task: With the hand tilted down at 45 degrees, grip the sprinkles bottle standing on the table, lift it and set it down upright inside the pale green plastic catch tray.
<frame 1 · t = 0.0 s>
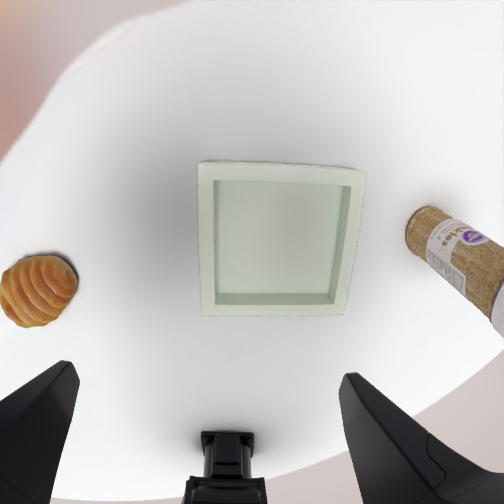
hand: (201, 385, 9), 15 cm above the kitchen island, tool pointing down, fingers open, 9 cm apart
pastry: (41, 282, 24), on the kitchen island
sprinkles bottle: (423, 230, 23), on the kitchen island
catch tray: (276, 237, 22), on the kitchen island
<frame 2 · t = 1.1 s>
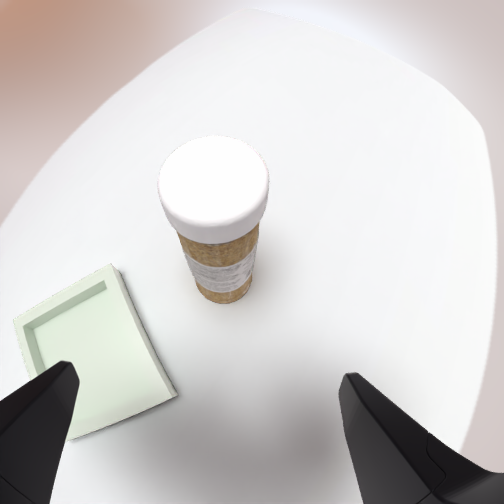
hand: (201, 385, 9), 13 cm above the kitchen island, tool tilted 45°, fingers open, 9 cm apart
sprinkles bottle: (223, 278, 24), on the kitchen island
catch tray: (90, 359, 20), on the kitchen island
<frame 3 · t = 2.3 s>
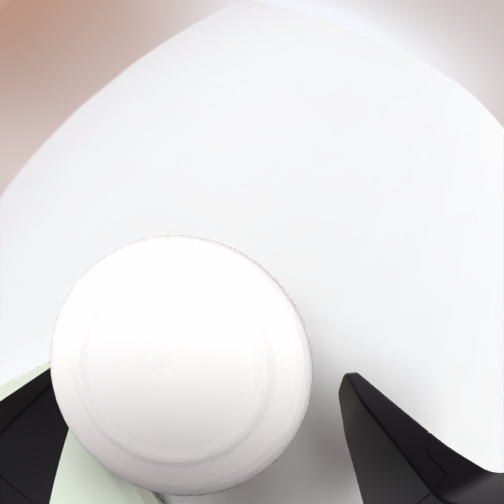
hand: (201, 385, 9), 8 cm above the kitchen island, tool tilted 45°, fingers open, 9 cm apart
sprinkles bottle: (217, 372, 17), on the kitchen island
catch tray: (59, 456, 13), on the kitchen island
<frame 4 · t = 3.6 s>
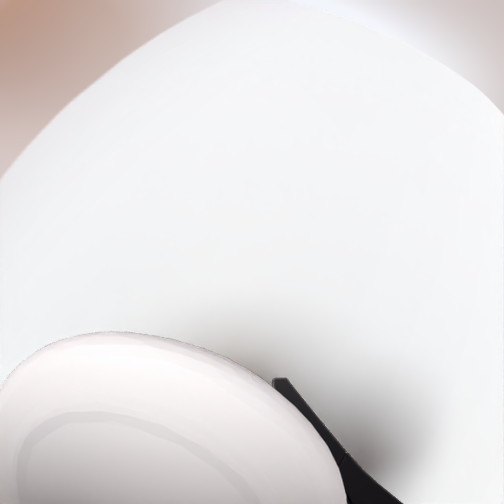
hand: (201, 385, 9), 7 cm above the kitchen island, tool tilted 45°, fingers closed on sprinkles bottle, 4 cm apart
sprinkles bottle: (215, 404, 14), on the kitchen island, touching gripper
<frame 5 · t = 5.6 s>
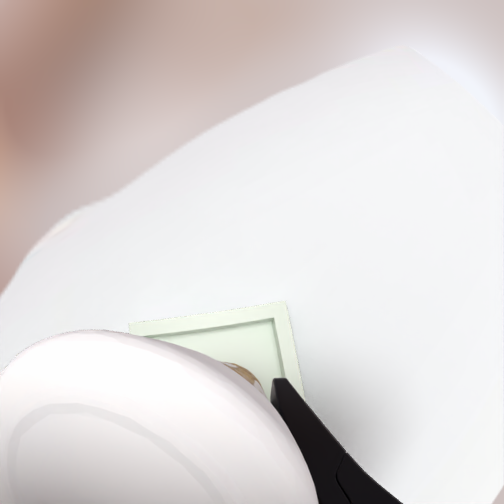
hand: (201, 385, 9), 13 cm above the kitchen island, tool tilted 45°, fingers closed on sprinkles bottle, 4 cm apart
sprinkles bottle: (223, 403, 14), point 6 cm above the kitchen island, touching gripper
catch tray: (220, 391, 20), on the kitchen island
when the fingers open (8 cm above the kitchen island, at t = 6.7 s): sprinkles bottle stays where it is, resting on catch tray.
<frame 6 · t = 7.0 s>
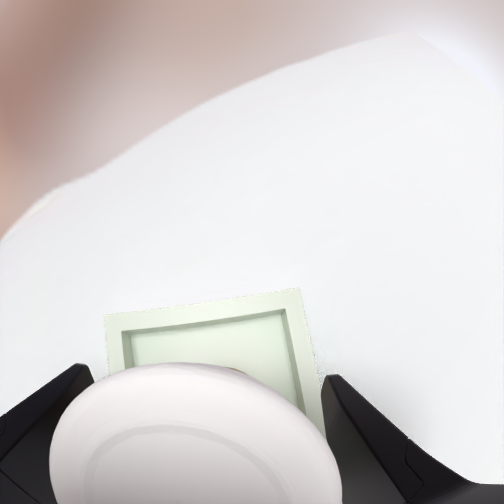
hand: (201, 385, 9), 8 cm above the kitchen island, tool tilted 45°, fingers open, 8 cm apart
sprinkles bottle: (223, 405, 15), resting on catch tray
catch tray: (217, 401, 16), on the kitchen island
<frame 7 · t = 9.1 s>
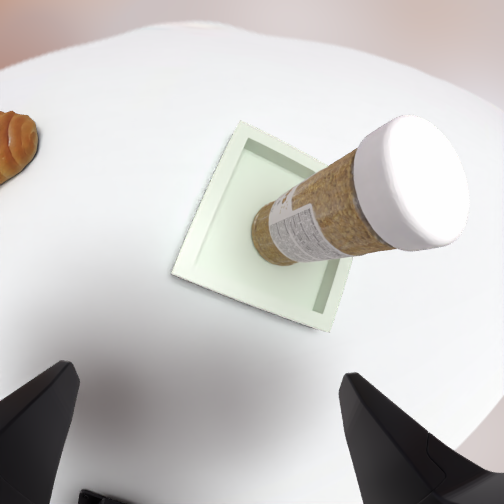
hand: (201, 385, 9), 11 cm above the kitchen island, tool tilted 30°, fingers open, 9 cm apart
sprinkles bottle: (279, 234, 21), resting on catch tray
catch tray: (274, 230, 21), on the kitchen island
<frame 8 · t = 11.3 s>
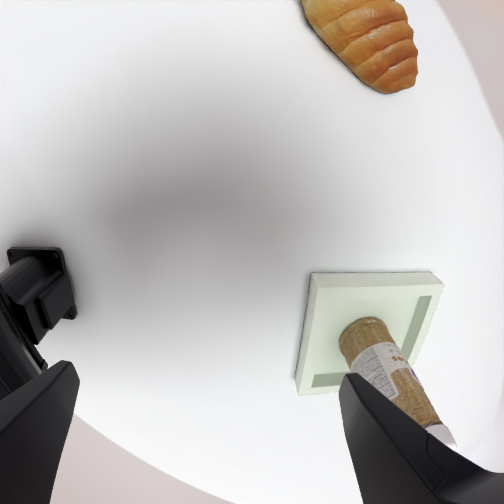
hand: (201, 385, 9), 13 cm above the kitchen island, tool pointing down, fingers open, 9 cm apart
pastry: (357, 27, 15), on the kitchen island
sprinkles bottle: (361, 335, 24), resting on catch tray
catch tray: (363, 329, 24), on the kitchen island
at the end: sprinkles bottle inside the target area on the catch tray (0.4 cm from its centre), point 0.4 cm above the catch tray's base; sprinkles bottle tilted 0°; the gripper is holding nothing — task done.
